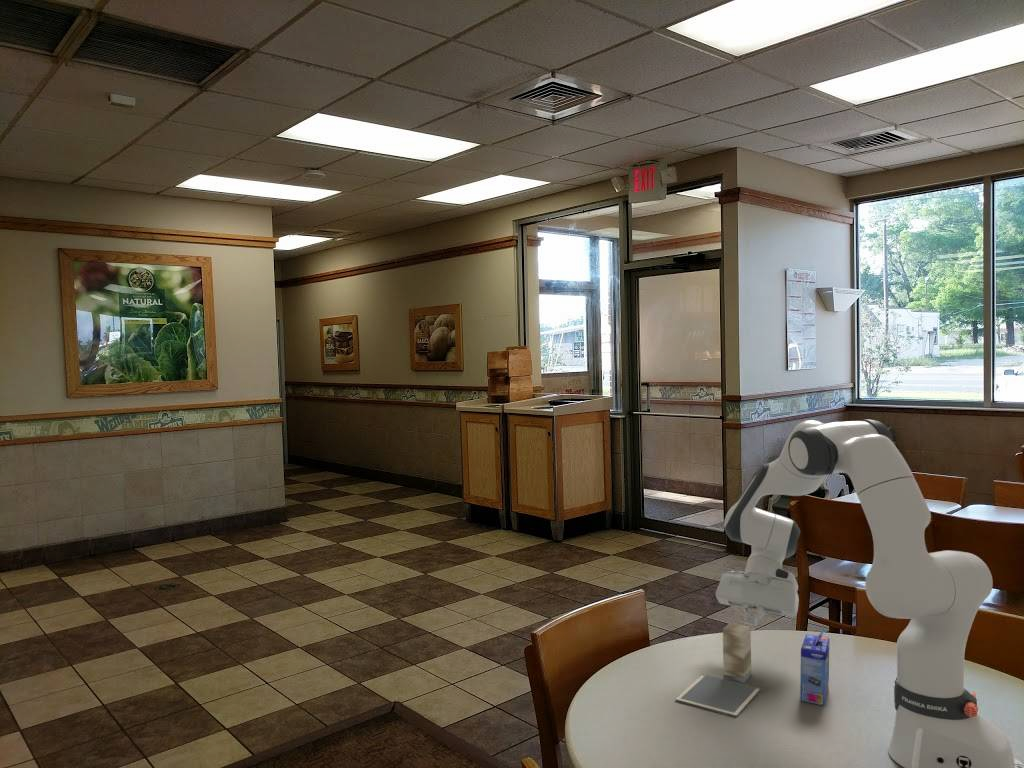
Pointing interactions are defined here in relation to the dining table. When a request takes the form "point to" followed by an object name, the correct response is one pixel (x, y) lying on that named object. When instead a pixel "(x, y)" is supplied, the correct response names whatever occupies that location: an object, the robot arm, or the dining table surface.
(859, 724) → the dining table surface
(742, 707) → the rubber mat
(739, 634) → the birch block
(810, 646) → the ink cartridge box
